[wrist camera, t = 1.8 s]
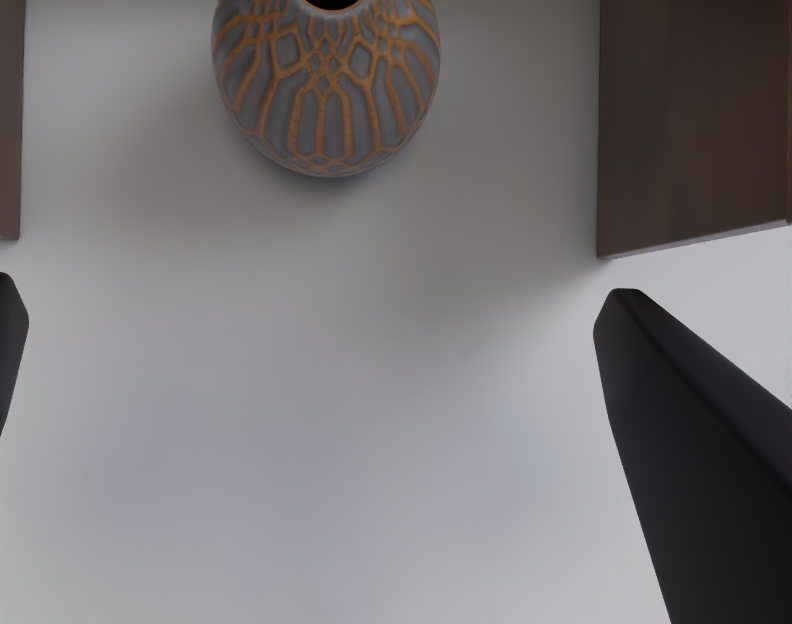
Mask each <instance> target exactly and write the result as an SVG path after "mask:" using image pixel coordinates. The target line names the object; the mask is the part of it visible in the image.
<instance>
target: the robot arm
mask: <svg viewBox="0 0 792 624" xmlns="http://www.w3.org/2000/svg"><path fill="white" fill-rule="evenodd" d="M28 328H29V317H28V313H27V310H26V308H25V306H24V304H23V301H22V299H21V297H20V295H19V293H18V290H17V288H16V286H15V284H14V281H13V280H12V278H11V277H10V276H9V275H8V274H6V273H3V272H0V436H1V433H2V430H3V427H4V424H5V421H6V418H7V415H8V411H9V407H10V404H11V399H12V395H13V391H14V387H15V383H16V379H17V375H18V370H19V366H20V362H21V358H22V354H23V350H24V345H25V341H26V337H27V333H28ZM593 338H594V344H595V350H596V355H597V360H598V366H599V371H600V377H601V382H602V388H603V393H604V399H605V404H606V409H607V414H608V418H609V422H610V426H611V429H612V433H613V436H614V439H615V443H616V446H617V449H618V452H619V456H620V459H621V462H622V465H623V469H624V472H625V475H626V478H627V482H628V485H629V488H630V491H631V495H632V498H633V501H634V504H635V508H636V511H637V514H638V517H639V521H640V524H641V527H642V530H643V534H644V537H645V540H646V543H647V547H648V550H649V553H650V556H651V560H652V563H653V566H654V569H655V573H656V576H657V579H658V582H659V586H660V589H661V592H662V595H663V599H664V602H665V605H666V608H667V611H668V615H669V618H670V621H671V624H792V409H790V408H789V407H788V406H786V405H785V404H784V403H783V402H781V401H780V400H779V399H778V398H776V397H775V396H774V395H772V394H771V393H770V392H769V391H767V390H766V389H765V388H764V387H762V386H761V385H760V384H759V383H757V382H756V381H755V380H753V379H752V378H751V377H750V376H748V375H747V374H746V373H745V372H743V371H742V370H741V369H740V368H738V367H737V366H736V365H734V364H733V363H732V362H731V361H729V360H728V359H727V358H726V357H724V356H723V355H722V354H720V353H719V352H718V351H717V350H715V349H714V348H713V347H712V346H710V345H709V344H708V343H707V342H705V341H704V340H703V339H701V338H700V337H699V336H698V335H696V334H695V333H694V332H693V331H691V330H690V329H689V328H687V327H686V326H685V325H684V324H682V323H681V322H680V321H679V320H677V319H676V318H675V317H674V316H672V315H671V314H670V313H668V312H667V311H666V310H665V309H663V308H662V307H661V306H660V305H658V304H657V303H656V302H654V301H653V300H652V299H651V298H649V297H648V296H647V295H646V294H644V293H643V292H642V291H640V290H638V289H626V288H616V289H613V290H612V291H611V292H610V293H609V294H608V296H607V298H606V300H605V302H604V304H603V307H602V309H601V311H600V313H599V315H598V317H597V319H596V322H595V324H594V329H593Z"/></svg>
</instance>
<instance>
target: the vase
mask: <svg viewBox="0 0 792 624" xmlns="http://www.w3.org/2000/svg"><path fill="white" fill-rule="evenodd" d="M211 51H212V63H213V69H214V74H215V78H216V82H217V85H218V88H219V91H220V94H221V97H222V99H223V101H224V104H225V106H226V108H227V110H228V111H229V113H230V115H231V117H232V118H233V120H234V122H235V123H236V125H237V126H238V128H239V129H240V130H241V132H242V133H243V134H244V135H245V137H246V138H247V139H248V140H249V141H250V142H251V143H252V144H253V145H254V146H255V147H256V148H257V149H258V150H259V151H260V152H262V153H263V154H264V155H265V156H267V157H268V158H270V159H271V160H273V161H274V162H276V163H278V164H279V165H281V166H284V167H286V168H288V169H290V170H293V171H295V172H299V173H302V174H306V175H310V176H316V177H328V178H329V177H344V176H350V175H355V174H359V173H362V172H365V171H368V170H370V169H372V168H375V167H377V166H378V165H380V164H382V163H384V162H385V161H387V160H388V159H390V158H391V157H392V156H394V155H395V154H396V153H397V152H398V151H399V150H400V149H401V148H402V147H403V146H404V145H405V144H406V143H407V142H408V141H409V140H410V139H411V137H412V136H413V135H414V134H415V132H416V131H417V129H418V128H419V126H420V125H421V123H422V121H423V120H424V118H425V116H426V114H427V112H428V110H429V108H430V105H431V103H432V100H433V97H434V94H435V91H436V87H437V83H438V78H439V69H440V55H441V54H440V38H439V30H438V25H437V20H436V16H435V13H434V9H433V6H432V3H431V1H430V0H218V3H217V6H216V10H215V14H214V19H213V27H212V36H211Z"/></svg>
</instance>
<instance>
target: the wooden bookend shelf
mask: <svg viewBox="0 0 792 624" xmlns="http://www.w3.org/2000/svg"><path fill="white" fill-rule="evenodd" d="M24 9H25V0H0V240H18V239H19V227H20V183H21V140H22V96H23V53H24ZM789 225H792V0H601V43H600V104H599V165H598V226H597V258H604V259H617V258H622V257H627V256H632V255H637V254H643V253H648V252H653V251H658V250H664V249H669V248H674V247H679V246H684V245H690V244H695V243H700V242H705V241H711V240H716V239H721V238H726V237H731V236H737V235H742V234H747V233H752V232H758V231H763V230H768V229H773V228H779V227H784V226H789Z"/></svg>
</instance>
